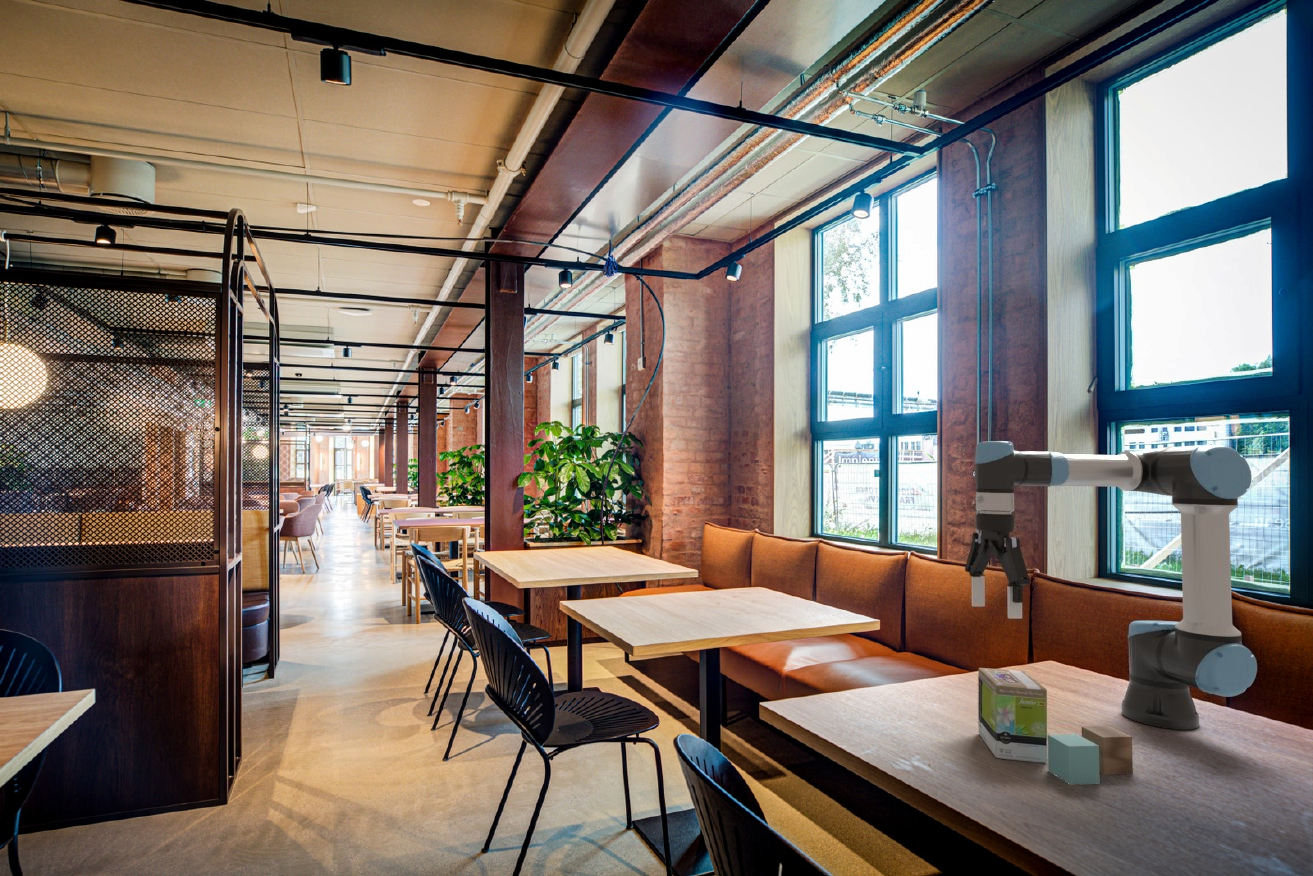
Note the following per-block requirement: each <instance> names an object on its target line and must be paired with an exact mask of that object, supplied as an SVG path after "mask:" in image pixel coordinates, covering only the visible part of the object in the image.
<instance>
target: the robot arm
mask: <svg viewBox="0 0 1313 876" xmlns="http://www.w3.org/2000/svg"><path fill="white" fill-rule="evenodd" d="M974 454H975V456H974V457H975V458H974V465H975V467H974V468H975V469H974V470H975V494H976V495H975V497H974V498H975V510H977V511H978V512H979V513H978V512H977V513H976V514H975V528H976V530H977V531H981V532H973V533H972V540H971V545H970V548H969V553H968V556H967V560H966V563H965V567H964V571H965V572H966V573H968V574H969V576H970V578H971V580H970V581H971V584H970V585H971V606H972V607H986V593H985V592H986V589H985V588H986V585H985V583H986V582H985V581H986V579H985V577H986V575H985V571H986V568H987V566H988V564H989V562H990V560H991V559H992V558H993V557H995V559H997V560H998V561H999V563H1000V565H1001V568H1002V570H1003V572H1004V574H1005V577H1006V578H1007V581H1008V583H1007V584H1006V585H1007V587H1006V588H1007V589H1006V590H1007V591H1006V592H1007V593H1006V594H1007V603H1006V604H1007V619H1012V620H1013V619H1016V620H1017V619H1020V620H1021V619H1023V601H1024V600H1023V597H1024V596H1023V595H1024V594H1023V591H1024V590H1023V588H1024V587H1025V586H1027V585H1030V584H1031V580H1030V576H1029V573H1028V570H1027V566H1026V563H1025V560H1024V556H1023V552H1022V549H1021V541H1020V538H1019V537H1014V536H1013V537H1010V533H1012V532H1014V531H1015V515H1014V514H1012V512H1014V511H1015V486H1024V487H1025V486H1026V487H1027V486H1029V487H1030V486H1031V487H1047V488H1049V487H1057V486H1058V487H1108V488H1109V487H1116V488H1118V489H1120V490H1121V491H1124V492H1140V493H1148V494H1155V495H1162V496H1166V497H1167V496H1169V497H1171V504H1172V506H1174V508H1175V509H1177V510H1178V511H1179V513H1180V536H1181V538H1180V539H1181V579H1182V580H1181V583H1182V584H1181V585H1182V587H1181V588H1182V619H1181V620H1180V621H1170V620H1168V621H1167V620H1133V621H1132V622H1130V624H1129V626H1128V635H1127V643H1128V644H1127V645H1128V669H1129V680H1128V681H1129V683H1128V685H1127V689H1126V691H1125V694H1124V698H1123V700H1122V702H1121V714H1122V715H1123V716H1124V717H1126V718H1127V719H1130V720H1132V721H1135V722H1138V723H1141V724H1145V725H1149V726H1153V727H1159V728H1163V729H1169V730H1171V729H1172V730H1194V729H1198V728H1199V727H1200V715H1199V713H1198V711H1197V709H1196V705H1195V702H1194V700H1193V697H1192V694H1191V692H1190V687H1192V688H1194V689H1198V690H1200V691H1201V692H1204V693H1206V694H1211V695H1212V694H1213V695H1216V696H1220V697H1224V698H1227V697H1228V698H1229V697H1235V696H1239V695H1240V694H1243V693H1244V692H1246V690H1247V688H1250V687H1251V686H1252V684H1253V683H1254V681H1255V679H1256V676H1257V673H1258V663H1257V662H1258V661H1257V658H1256V657H1255V655H1254V654H1253V653H1252V651H1251V650H1250V649H1249V648H1248V647H1246V646H1245V645H1243V643H1242V642H1243V641H1242V632H1241V631H1240V630H1239V629H1237V627H1235V626H1234V624H1233V608H1232V607H1233V605H1232V574H1231V573H1232V572H1231V571H1232V570H1231V537H1230V514H1231V512H1233V511H1234V510H1235V509H1237V508H1238V507H1239V504H1238V501H1239V500H1238V498H1240V497H1242V496H1243V495H1245V494H1246V493H1247V491H1248V490H1247V489H1250V487H1251V485H1252V471H1251V468H1250V465H1249V463H1248V461H1247V459H1246V458H1245V457H1244V456H1243V455H1241V454H1240V452H1239V451H1237V450H1236V449H1235V448H1232V447H1230V446H1226V445H1222V444H1219V445H1218V444H1209V443H1208V444H1200V445H1184V446H1166V447H1159V448H1152V449H1143V450H1134V451H1133V450H1132V451H1131V450H1129V451H1128V450H1125V451H1121V452H1120V453H1118V454H1117V455H1115V454H1068V453H1067V454H1066V453H1065V454H1064V453H1061V452H1058V451H1057V452H1055V451H1048V450H1047V451H1019V450H1015V447H1014V443H1013V442H1011V441H1003V440H1002V441H1001V440H998V441H995V440H994V441H993V440H991V441H990V440H989V441H980V442H978V443H977V444H976V446H975V453H974Z"/></svg>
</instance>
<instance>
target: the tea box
mask: <svg viewBox="0 0 1313 876" xmlns="http://www.w3.org/2000/svg"><path fill="white" fill-rule="evenodd" d="M977 676H978V678H977V679H978V683H977V684H978V689H977V690H978V694H977V696H978V700H977V701H978V702H977V703H978V704H977V706H978V708H977V709H978V710H977V712H978V715H977V716H978V717H977V718H978V720H977V725H978V726H977V727H978V729H977V731H978V732H977V733H978V734H979V735H980V737H981V738H982V740H983V741H984V743H985V744H986V746H987V747H988V749H989V750H990V752H992V754H993V755H994V757H995V758H997V759H1000V760H1001V759H1004V760H1009V761H1010V760H1011V761H1021V762H1031V763H1047V762H1048V710H1047V709H1048V697H1047V696H1048V690H1047V688H1045V686H1043V685H1042V684H1041V683H1039V682H1038V681H1037V680H1035V678H1033V677H1032V675H1030V674H1028V673H1027V672H1026V671H1024V670H1015V669H1014V670H1013V669H1002V668H1001V669H999V668H989V667H988V668H986V667H978V675H977Z"/></svg>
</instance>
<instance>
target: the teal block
mask: <svg viewBox="0 0 1313 876" xmlns="http://www.w3.org/2000/svg"><path fill="white" fill-rule="evenodd" d="M1047 770H1049V771H1050V772H1051V773H1050V772H1049V771H1048V772H1049V773H1050V774H1052V773H1053V774H1055V775H1057V776H1058V777H1059V778H1058V777H1057V778H1058V779H1060V778H1062V779H1063V780H1064V781H1066V782H1065V783H1066V784H1067V783H1069V784H1071V785H1070V786H1073V784H1080V785H1096V784H1095V783H1100V772H1099V746H1098V745H1097V744H1095V743H1093V742H1091V741H1089V740H1087V739H1085V738H1083V737H1082V735H1079V734H1077V733H1071V734H1047ZM1053 774H1052V775H1053ZM1055 775H1054V776H1055ZM1063 780H1062V781H1063ZM1064 781H1063V782H1064ZM1093 783H1094V784H1093ZM1069 784H1068V785H1069Z"/></svg>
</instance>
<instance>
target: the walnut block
mask: <svg viewBox="0 0 1313 876" xmlns="http://www.w3.org/2000/svg"><path fill="white" fill-rule="evenodd" d="M1081 737H1083V738H1085V739H1087V740H1089V741H1091V742H1093V743H1095V744H1097V745H1098V746H1099V771H1100V772H1099V773H1101V774H1102V773H1103V774H1102V775H1123V774H1124V775H1130V774H1134V763H1133V736H1131V735H1129V734H1127V733H1125V732H1123V731H1121V730H1118V729H1116V728H1114V727H1113V726H1110V725H1093V726H1091V725H1089V726H1081Z"/></svg>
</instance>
